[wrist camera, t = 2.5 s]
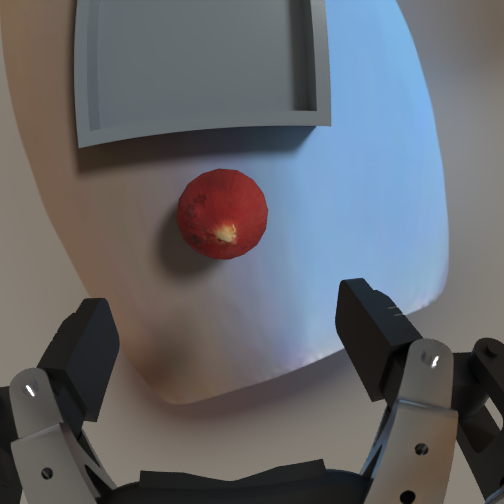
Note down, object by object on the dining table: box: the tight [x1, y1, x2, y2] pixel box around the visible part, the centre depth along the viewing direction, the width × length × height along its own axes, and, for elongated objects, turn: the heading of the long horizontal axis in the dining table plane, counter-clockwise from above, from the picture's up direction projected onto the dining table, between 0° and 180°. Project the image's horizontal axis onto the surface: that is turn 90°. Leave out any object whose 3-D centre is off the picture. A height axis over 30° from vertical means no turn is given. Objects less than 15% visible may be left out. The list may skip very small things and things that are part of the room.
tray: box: [74, 0, 331, 148], centre depth 16 cm, size 17×17×3 cm
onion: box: [177, 169, 268, 259], centre depth 19 cm, size 6×6×8 cm
